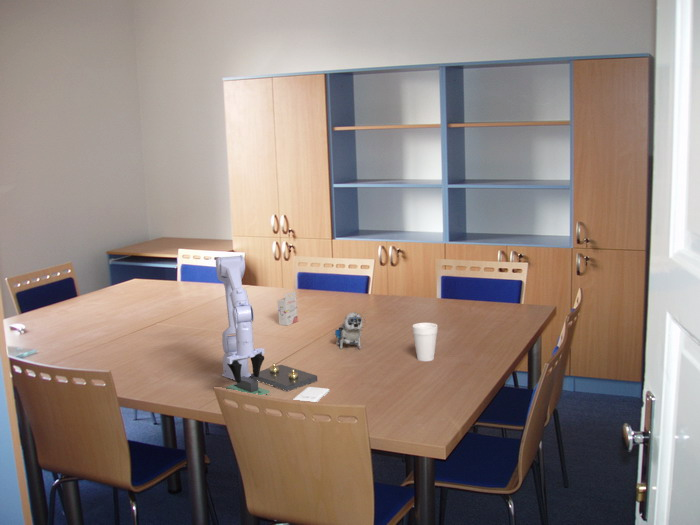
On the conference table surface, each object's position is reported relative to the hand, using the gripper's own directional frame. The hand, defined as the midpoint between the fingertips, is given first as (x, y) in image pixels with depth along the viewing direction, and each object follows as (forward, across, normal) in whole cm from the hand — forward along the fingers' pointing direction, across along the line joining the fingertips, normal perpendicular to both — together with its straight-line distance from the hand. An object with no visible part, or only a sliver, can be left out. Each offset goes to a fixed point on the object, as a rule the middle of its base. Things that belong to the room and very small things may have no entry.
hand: (247, 379), depth 252 cm
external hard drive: (+6, +11, -20) cm, 23 cm away
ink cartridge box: (+4, +69, +61) cm, 92 cm away
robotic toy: (+5, +61, +11) cm, 62 cm away
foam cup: (+5, +67, -23) cm, 71 cm away
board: (+5, 0, 0) cm, 5 cm away
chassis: (+5, +16, 0) cm, 17 cm away
